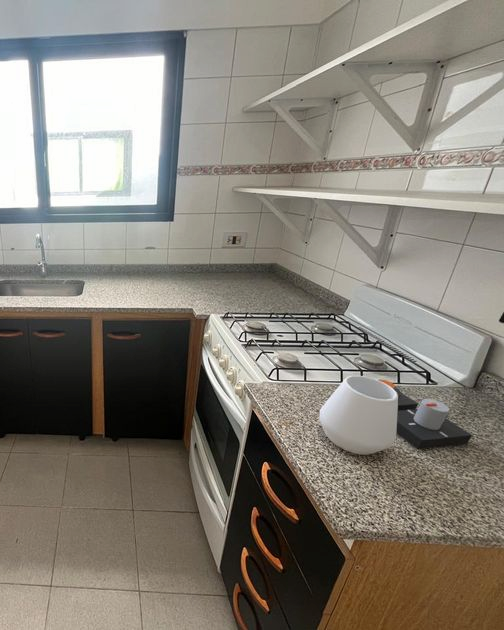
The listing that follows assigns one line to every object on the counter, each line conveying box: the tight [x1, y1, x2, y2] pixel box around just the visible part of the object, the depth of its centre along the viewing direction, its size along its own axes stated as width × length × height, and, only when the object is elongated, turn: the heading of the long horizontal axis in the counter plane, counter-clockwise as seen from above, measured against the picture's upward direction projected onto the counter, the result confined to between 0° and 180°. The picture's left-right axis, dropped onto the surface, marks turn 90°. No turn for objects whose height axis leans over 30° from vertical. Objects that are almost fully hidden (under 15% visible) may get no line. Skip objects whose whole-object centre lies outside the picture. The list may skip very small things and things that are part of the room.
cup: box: [319, 374, 398, 456], centre depth 73 cm, size 13×13×14 cm
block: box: [394, 386, 419, 411], centre depth 87 cm, size 11×9×4 cm
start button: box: [377, 379, 396, 389], centre depth 86 cm, size 4×4×2 cm
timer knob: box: [413, 398, 450, 430], centre depth 76 cm, size 4×4×5 cm
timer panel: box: [396, 408, 473, 450], centre depth 78 cm, size 12×9×3 cm
